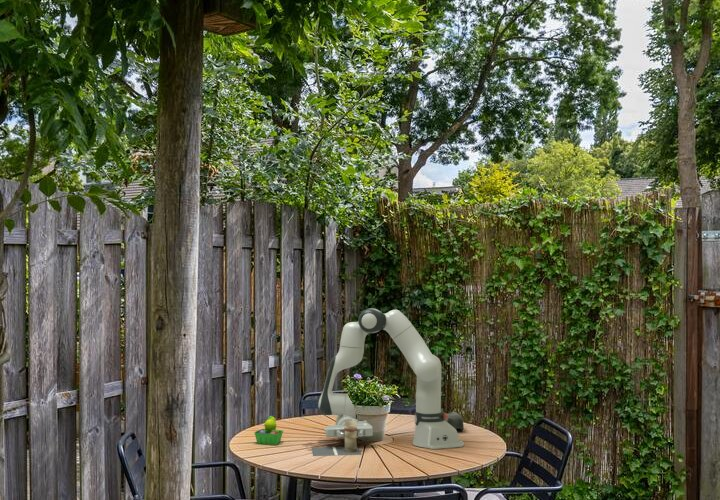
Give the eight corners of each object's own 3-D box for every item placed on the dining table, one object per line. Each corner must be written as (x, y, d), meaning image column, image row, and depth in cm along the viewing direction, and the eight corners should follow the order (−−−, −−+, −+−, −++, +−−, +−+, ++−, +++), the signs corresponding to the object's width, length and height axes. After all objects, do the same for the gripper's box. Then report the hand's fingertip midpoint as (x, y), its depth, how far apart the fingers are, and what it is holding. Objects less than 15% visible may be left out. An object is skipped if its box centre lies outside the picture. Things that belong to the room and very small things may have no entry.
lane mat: (358, 448, 277) (358, 446, 277) (362, 457, 263) (362, 454, 263) (311, 450, 274) (311, 447, 274) (312, 458, 260) (313, 455, 260)
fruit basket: (253, 444, 284) (253, 418, 285) (261, 439, 292) (261, 414, 293) (277, 446, 281) (277, 419, 282) (284, 441, 290) (285, 415, 290)
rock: (432, 426, 324) (432, 410, 325) (454, 425, 326) (454, 409, 326) (443, 434, 306) (443, 417, 307) (465, 433, 308) (465, 416, 308)
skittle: (356, 449, 272) (356, 420, 273) (357, 452, 267) (357, 422, 268) (343, 449, 271) (343, 420, 272) (344, 452, 266) (345, 422, 267)
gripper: (323, 421, 281) (326, 427, 268) (370, 420, 284) (374, 426, 270) (323, 435, 281) (325, 443, 267) (370, 434, 283) (374, 442, 270)
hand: (350, 435), depth 269 cm, fingers open, 6 cm apart
